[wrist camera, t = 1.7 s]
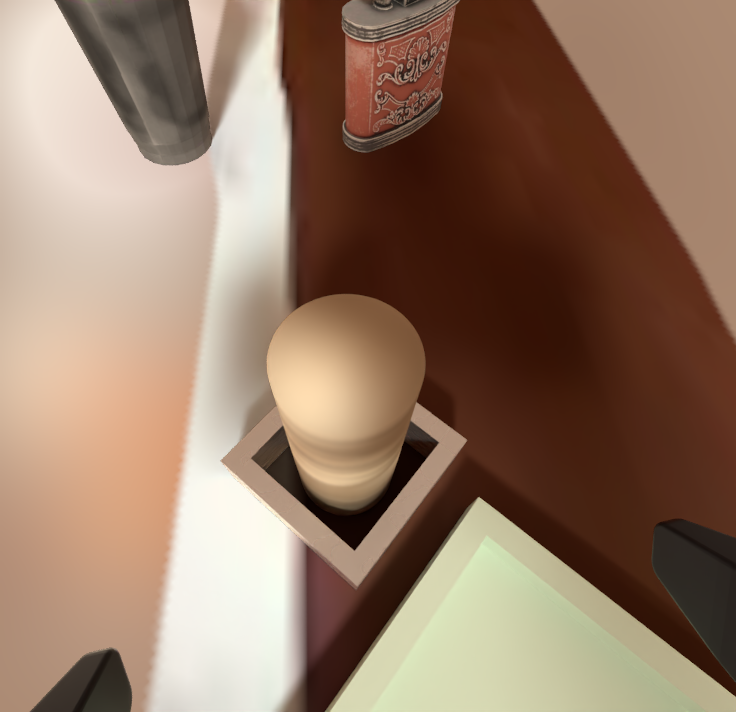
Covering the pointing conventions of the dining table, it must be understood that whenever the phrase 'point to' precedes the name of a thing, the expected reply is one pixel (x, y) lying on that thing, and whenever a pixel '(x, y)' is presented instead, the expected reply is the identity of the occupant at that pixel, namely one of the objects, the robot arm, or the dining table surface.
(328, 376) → the pin
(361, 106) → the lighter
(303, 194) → the dining table surface
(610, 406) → the dining table surface
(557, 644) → the tray
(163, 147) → the beverage cup
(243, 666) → the dining table surface
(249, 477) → the pin socket
